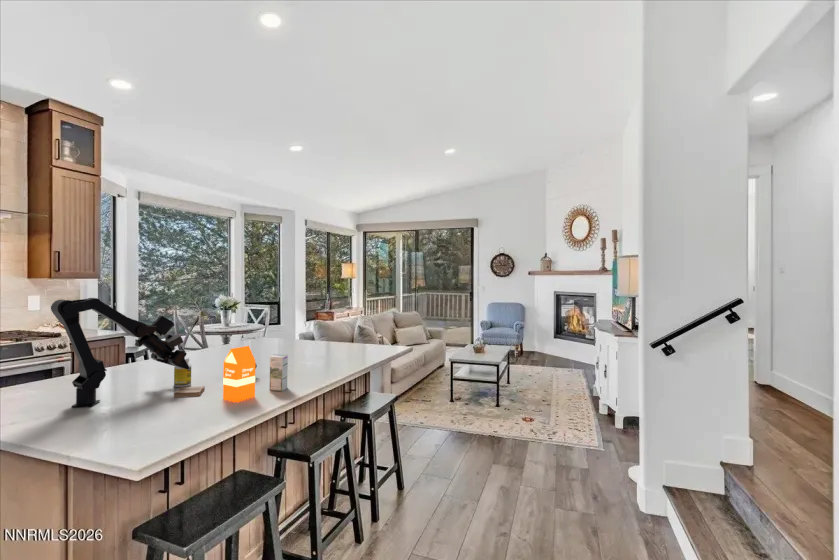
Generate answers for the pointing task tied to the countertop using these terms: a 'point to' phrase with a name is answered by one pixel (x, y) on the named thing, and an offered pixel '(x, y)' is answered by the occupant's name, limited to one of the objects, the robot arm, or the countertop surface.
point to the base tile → (189, 391)
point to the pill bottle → (182, 375)
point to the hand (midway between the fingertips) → (182, 366)
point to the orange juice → (239, 375)
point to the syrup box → (278, 372)
